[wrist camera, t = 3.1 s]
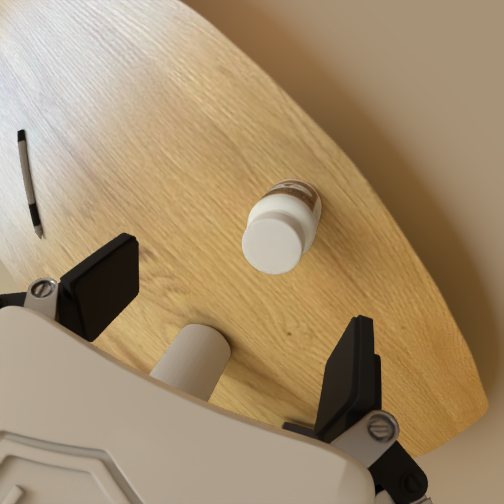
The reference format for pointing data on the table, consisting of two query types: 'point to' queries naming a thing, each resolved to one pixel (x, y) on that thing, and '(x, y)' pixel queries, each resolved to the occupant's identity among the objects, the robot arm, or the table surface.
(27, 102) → the table surface
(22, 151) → the pen
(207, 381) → the beverage can
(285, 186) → the pill bottle
